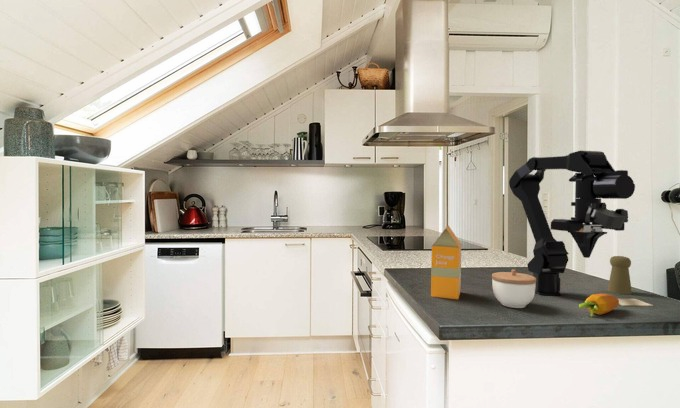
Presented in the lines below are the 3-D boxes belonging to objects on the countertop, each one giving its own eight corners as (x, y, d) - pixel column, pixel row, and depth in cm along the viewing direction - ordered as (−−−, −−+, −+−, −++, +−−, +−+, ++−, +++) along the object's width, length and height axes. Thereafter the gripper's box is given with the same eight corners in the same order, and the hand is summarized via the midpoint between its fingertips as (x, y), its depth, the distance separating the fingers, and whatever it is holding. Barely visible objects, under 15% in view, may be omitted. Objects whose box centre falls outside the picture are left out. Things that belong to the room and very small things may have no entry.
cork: (623, 289, 116) (624, 255, 116) (636, 294, 110) (637, 258, 110) (603, 289, 117) (603, 254, 117) (615, 294, 111) (616, 257, 111)
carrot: (631, 298, 93) (600, 304, 86) (622, 314, 95) (591, 321, 88) (611, 286, 97) (580, 292, 90) (602, 302, 99) (571, 308, 92)
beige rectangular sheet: (623, 305, 98) (623, 304, 98) (606, 299, 104) (606, 298, 104) (652, 306, 98) (652, 305, 98) (634, 299, 104) (634, 298, 104)
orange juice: (430, 296, 106) (431, 227, 105) (434, 289, 114) (435, 225, 114) (458, 299, 103) (460, 228, 102) (461, 292, 111) (462, 226, 111)
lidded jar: (483, 300, 103) (483, 266, 102) (517, 298, 105) (518, 265, 104) (507, 311, 92) (508, 274, 92) (545, 309, 94) (546, 273, 94)
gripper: (587, 198, 87) (586, 264, 87) (647, 199, 92) (645, 261, 92) (549, 198, 98) (548, 256, 98) (604, 198, 102) (602, 254, 103)
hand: (586, 257), depth 97 cm, fingers closed
